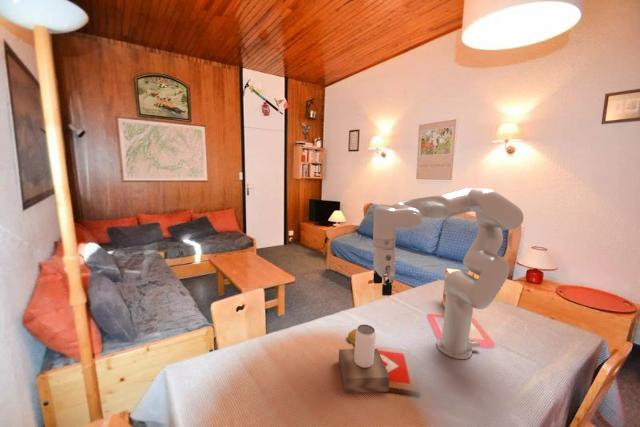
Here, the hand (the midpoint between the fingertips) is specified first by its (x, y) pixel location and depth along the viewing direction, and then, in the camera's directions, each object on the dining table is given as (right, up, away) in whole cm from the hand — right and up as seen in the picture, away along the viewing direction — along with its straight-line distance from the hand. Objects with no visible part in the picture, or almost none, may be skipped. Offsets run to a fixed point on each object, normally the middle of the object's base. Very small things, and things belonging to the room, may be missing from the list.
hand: (381, 288), depth 100 cm
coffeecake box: (+45, -23, +42) cm, 66 cm away
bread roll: (-6, -25, +15) cm, 30 cm away
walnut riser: (-8, -28, -5) cm, 30 cm away
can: (-7, -23, -5) cm, 25 cm away
